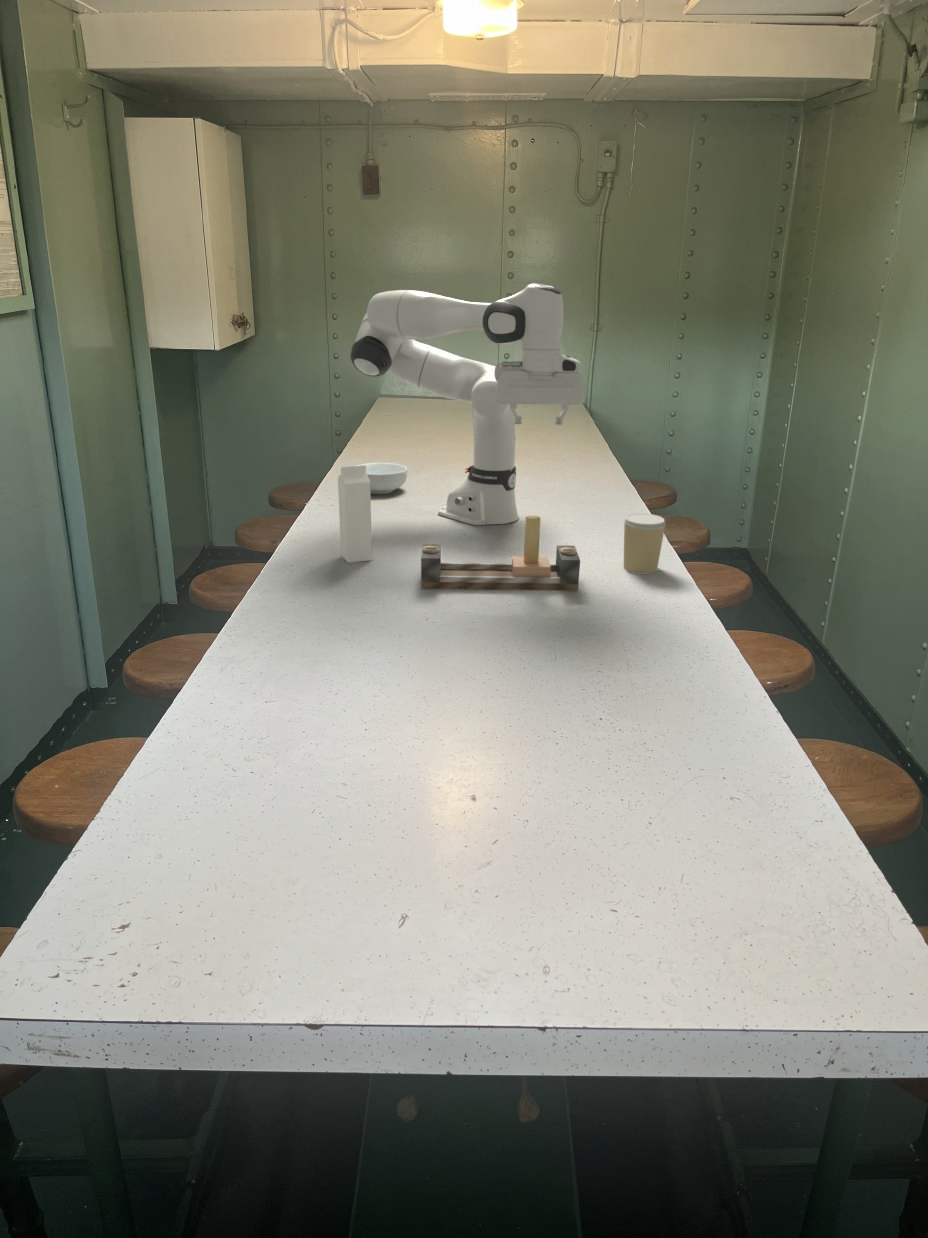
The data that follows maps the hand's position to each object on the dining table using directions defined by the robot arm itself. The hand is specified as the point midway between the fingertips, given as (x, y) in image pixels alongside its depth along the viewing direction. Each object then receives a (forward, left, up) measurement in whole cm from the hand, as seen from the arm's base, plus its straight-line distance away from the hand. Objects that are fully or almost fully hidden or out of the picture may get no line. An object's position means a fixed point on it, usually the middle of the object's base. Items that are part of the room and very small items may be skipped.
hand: (538, 424), depth 201 cm
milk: (-32, -28, -31) cm, 53 cm away
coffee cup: (+26, +5, -31) cm, 41 cm away
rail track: (+4, -22, -31) cm, 38 cm away
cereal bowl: (-67, +24, -31) cm, 78 cm away
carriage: (+10, -18, -29) cm, 36 cm away
